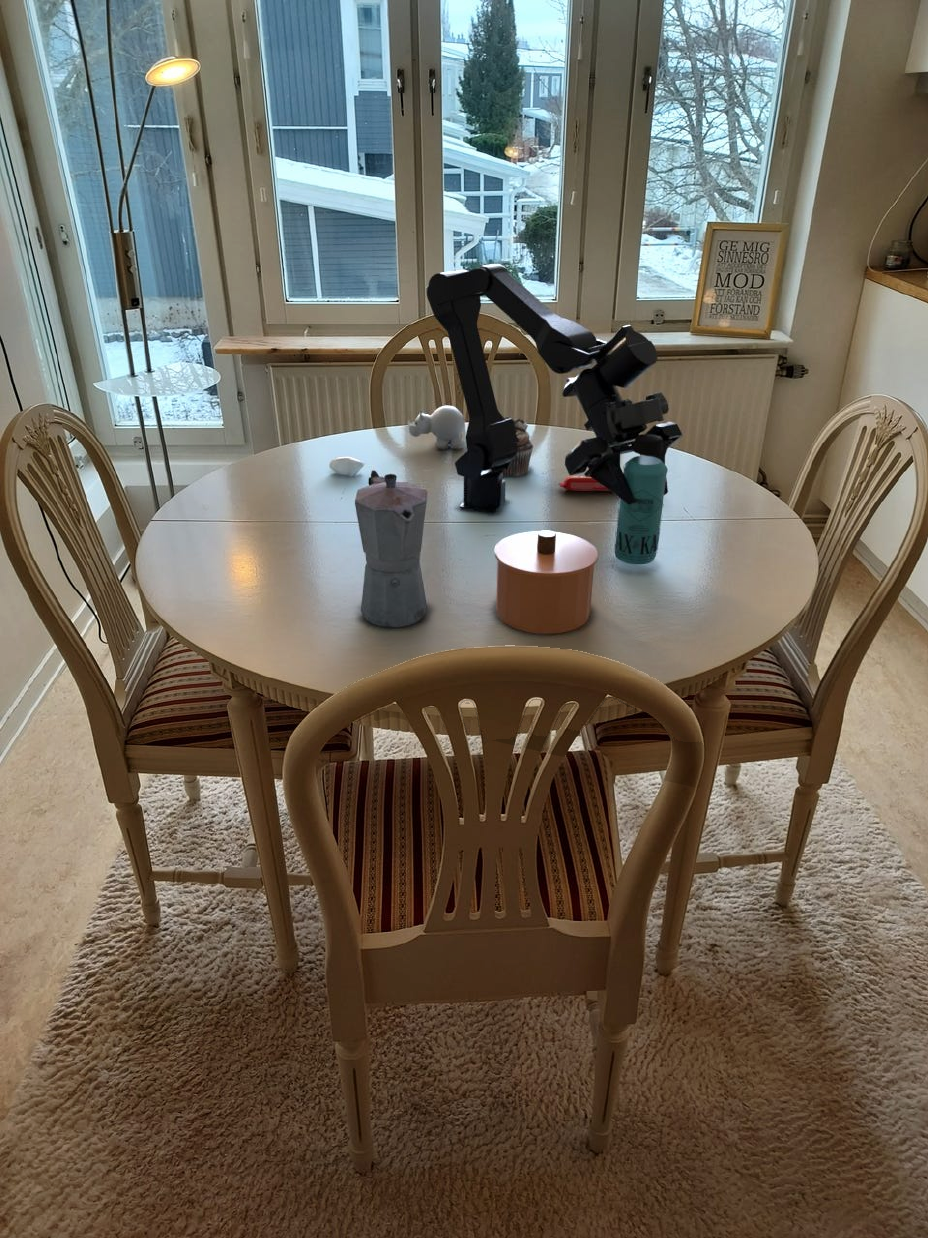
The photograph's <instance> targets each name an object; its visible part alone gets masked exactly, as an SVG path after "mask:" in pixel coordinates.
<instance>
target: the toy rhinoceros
mask: <svg viewBox="0 0 928 1238" xmlns="http://www.w3.org/2000/svg"><path fill="white" fill-rule="evenodd" d="M419 412H420V413H418V415H417V417H416V418H415V420H414V422H413V421H410V419H408V420H407V427H408V432H409V434H410V435H411V436H412V437H414V438H418V437H420V436H421V435H429V434H430V433H432V434H433V435H434V436H435V446H436V447H435V448H436V449H438V450H446V449H448V448H449V445H450V448H451V449H454V450H459V449H462V448H463V446H464V441H463V432H464V428H465V421H466V419H465V417H464V415H463V414H462V412H461V411H460V410H459V409H458V408H457V407H455V406H453V405H443V406H439V407H438V408H436V409H435V410H434V412H433V413H432V414H430V415H429V414H427V413H425V412H424V411H423V409H420V410H419Z"/></svg>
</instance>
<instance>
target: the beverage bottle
mask: <svg viewBox="0 0 928 1238" xmlns="http://www.w3.org/2000/svg"><path fill="white" fill-rule="evenodd" d="M662 452H663V439H662V437H660V436H657V435H651V434H645V433H644V434H639V435H638V436H636V438H635V443H634V447H633V453H635V454H637V456H636V455H635V456H634V457H631V458H630V459H629V460H628V461H626V462H625V463H624V464H623V468H622V470H623V471H622V472H623V474H624V476H625V478H626V480H627V483H628V485H629V487H630V489H631V492H632V495H633V498H634V502H633V503H632V504H631V505H628V504H627V503H626V502H624V501H623V500H622V499H620V498H619V502H618V505H619V506H618V509H617V514H616V517H617V518H616V526H615V527H616V531H615V534H614V537H615V541H614V542H613V549H614V556H615V558H616V559H617V560H618V561H620V562H622V563H626V564H629V565H647V564H650V563H652V562H654V560H655V559H656V557H657V553H658V550H659V542H660V534H661V526H662V525H661V524H662V521H663V520H662V516H663V508H664V506H665V504H664V497H665V495H664V490H665V483H666V478H667V474H668V467H667V465H666V463H665V464H664V463H663V462H662V461H661V460H660V459H658V458H655V457H651V456H640V454H641V455H659V454H661V453H662Z"/></svg>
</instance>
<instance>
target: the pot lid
mask: <svg viewBox="0 0 928 1238" xmlns="http://www.w3.org/2000/svg"><path fill="white" fill-rule="evenodd" d="M494 558H495V559H496V562H497V561H498V562H499V563H500V564H502V565H503V566H505V567H506V568H508V569H511V570H513V571H516V572H519V573H523V574H527V575H533V576H543V577H559V576H568V575H573V574H578V573H581V572H584V571H586V570H588V569H590V568H591V567H592V566H594V567H595V565H596V564H597V563H598V561H599V552H598V550H597V548H596V546H595V545H594V544H593V543H591V542H589V541H588V540H586V539H584V538H582V537H579V536H577V535H574V534H571V533H567V532H566V533H565V532H560V531H553V530H550V529H544V530H533V531H523V532H517V533H514V534H511V535H509V536H506V537H504V538H502V539H501V540H499V541H498V542H497V543H496V544H495V546H494Z"/></svg>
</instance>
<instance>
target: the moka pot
mask: <svg viewBox="0 0 928 1238" xmlns="http://www.w3.org/2000/svg"><path fill="white" fill-rule="evenodd" d="M397 478H398V476H397V475H396V473H395V474H394V473H387V474H385V475H384V476H380V475H379V473H378V472H377V471H376V470H375V469H374V470H371V473H370V477H368V480H367V481H368V482H367V483H368V485H367V486H364V487H361V488H358V489H357V491H356V495H355V500H354V507H355V512H356V513H355V514H356V519H357V523H358V529H359V536H360V542H361V544H362V551H363V553H364V555H365V566H364V575H363V584H362V585H363V586H362V593H361V603H360V606H361V607H360V612H361V615H362V617H364V619H365V620H366V621H367V622H369V623H371V624H373V625H376V626H378V627H383V628H402V627H408V626H411V625H414V624H416V623H417V622H419V621H421V620H422V619H423V618H424V617H425V616H426V613H427V610H428V603H427V597H426V591H425V585H424V579H423V573H422V567H421V562H420V561H421V552H422V545H423V536H424V527H425V519H426V511H427V504H428V501H427V500H428V491H427V489H425V488H423V487H421V486H418V485H416V484H413V483H410V482H408V481H397Z"/></svg>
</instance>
